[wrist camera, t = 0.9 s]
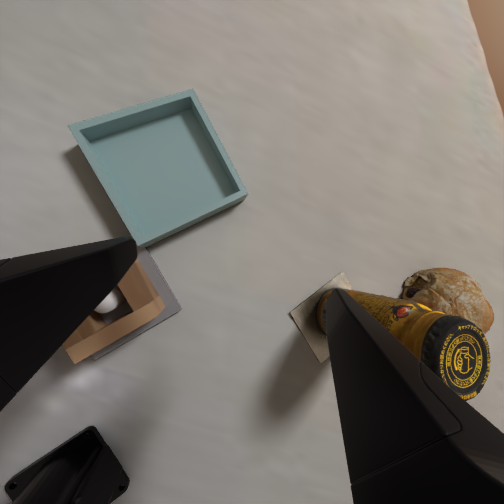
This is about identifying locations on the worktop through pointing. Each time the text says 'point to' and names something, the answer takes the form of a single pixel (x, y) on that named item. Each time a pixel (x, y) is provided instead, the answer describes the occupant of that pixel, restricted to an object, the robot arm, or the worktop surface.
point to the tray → (160, 165)
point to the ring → (102, 334)
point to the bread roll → (450, 295)
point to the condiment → (409, 335)
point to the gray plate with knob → (119, 306)
